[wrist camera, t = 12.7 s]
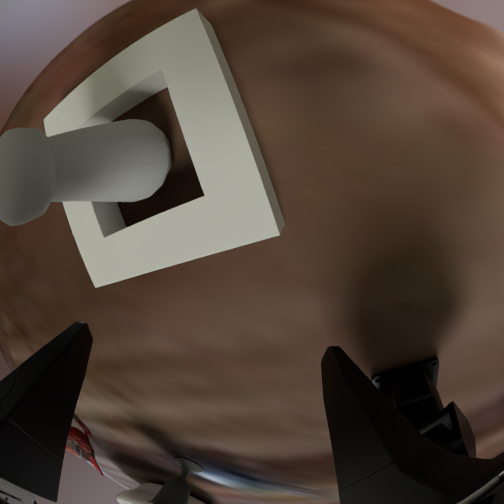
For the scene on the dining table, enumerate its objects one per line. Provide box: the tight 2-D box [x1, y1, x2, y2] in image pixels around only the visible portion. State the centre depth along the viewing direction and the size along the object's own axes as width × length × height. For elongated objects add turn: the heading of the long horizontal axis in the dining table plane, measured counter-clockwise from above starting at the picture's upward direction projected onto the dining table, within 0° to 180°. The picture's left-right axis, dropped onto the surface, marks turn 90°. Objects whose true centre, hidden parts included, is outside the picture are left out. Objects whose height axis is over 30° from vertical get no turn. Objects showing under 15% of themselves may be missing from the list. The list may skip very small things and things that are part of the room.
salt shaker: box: [0, 119, 174, 226], centre depth 13 cm, size 6×6×13 cm
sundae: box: [147, 457, 203, 504], centre depth 27 cm, size 7×7×15 cm
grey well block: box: [44, 9, 285, 288], centre depth 18 cm, size 16×16×3 cm
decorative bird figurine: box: [65, 420, 103, 475], centre depth 35 cm, size 3×18×10 cm, turn 19°
